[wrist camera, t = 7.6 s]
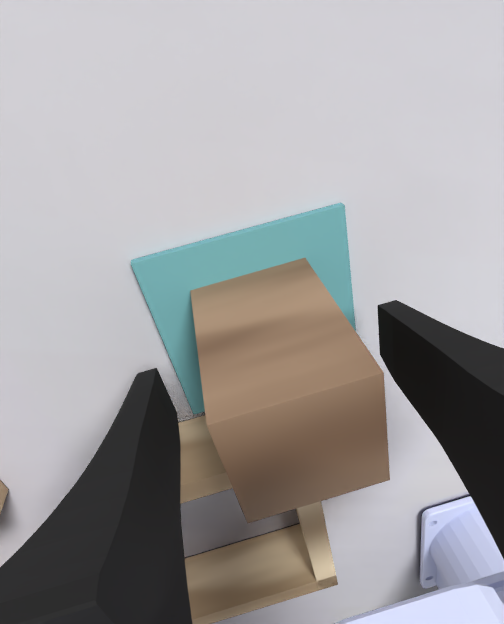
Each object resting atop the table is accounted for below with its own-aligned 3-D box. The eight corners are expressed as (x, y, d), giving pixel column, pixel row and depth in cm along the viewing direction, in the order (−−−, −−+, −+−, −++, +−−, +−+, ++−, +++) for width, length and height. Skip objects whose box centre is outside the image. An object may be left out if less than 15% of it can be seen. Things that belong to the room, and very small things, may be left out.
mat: (356, 362, 18) (359, 367, 17) (193, 409, 17) (193, 414, 17) (341, 202, 14) (344, 205, 13) (131, 259, 13) (130, 263, 13)
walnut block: (319, 347, 16) (390, 480, 11) (221, 376, 16) (247, 523, 11) (304, 257, 14) (383, 373, 9) (190, 290, 14) (206, 425, 9)
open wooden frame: (319, 528, 24) (337, 584, 21) (5, 622, 23) (-14, 693, 21) (288, 391, 18) (309, 447, 15) (-139, 514, 17) (-190, 594, 15)
